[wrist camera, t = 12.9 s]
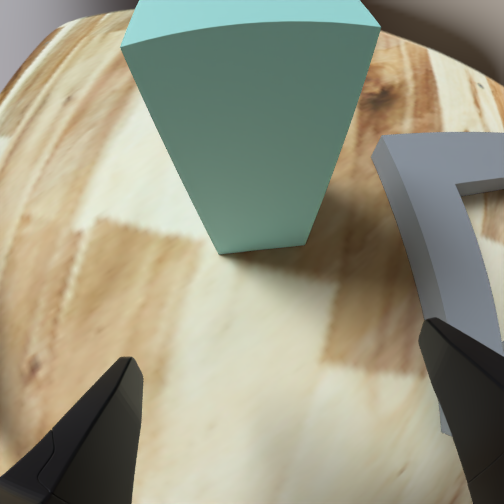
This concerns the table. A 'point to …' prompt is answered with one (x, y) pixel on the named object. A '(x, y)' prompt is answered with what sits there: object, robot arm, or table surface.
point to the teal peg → (252, 105)
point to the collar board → (444, 223)
